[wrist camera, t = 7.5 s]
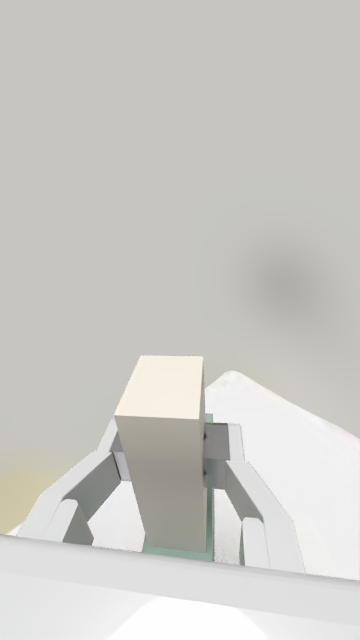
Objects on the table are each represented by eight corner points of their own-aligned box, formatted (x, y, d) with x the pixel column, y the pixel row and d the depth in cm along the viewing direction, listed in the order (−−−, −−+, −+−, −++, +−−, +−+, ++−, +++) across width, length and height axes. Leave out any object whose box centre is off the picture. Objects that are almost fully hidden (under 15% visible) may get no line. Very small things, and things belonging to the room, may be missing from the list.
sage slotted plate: (214, 508, 22) (210, 308, 13) (214, 790, 12) (199, 732, 3) (181, 505, 23) (157, 309, 14) (153, 775, 12) (-25, 680, 3)
